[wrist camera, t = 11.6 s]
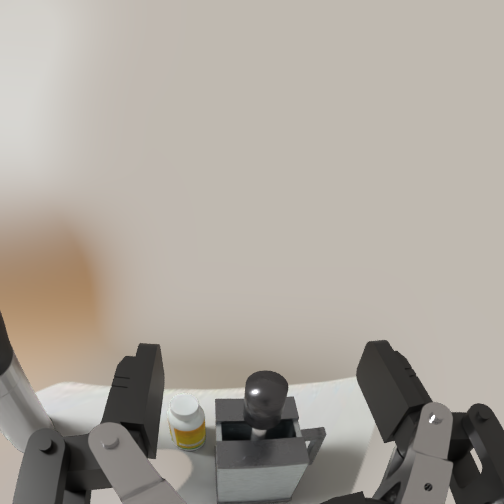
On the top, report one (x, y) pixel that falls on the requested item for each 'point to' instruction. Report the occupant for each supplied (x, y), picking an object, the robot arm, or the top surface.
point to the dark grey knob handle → (264, 402)
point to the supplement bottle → (186, 422)
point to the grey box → (260, 455)
